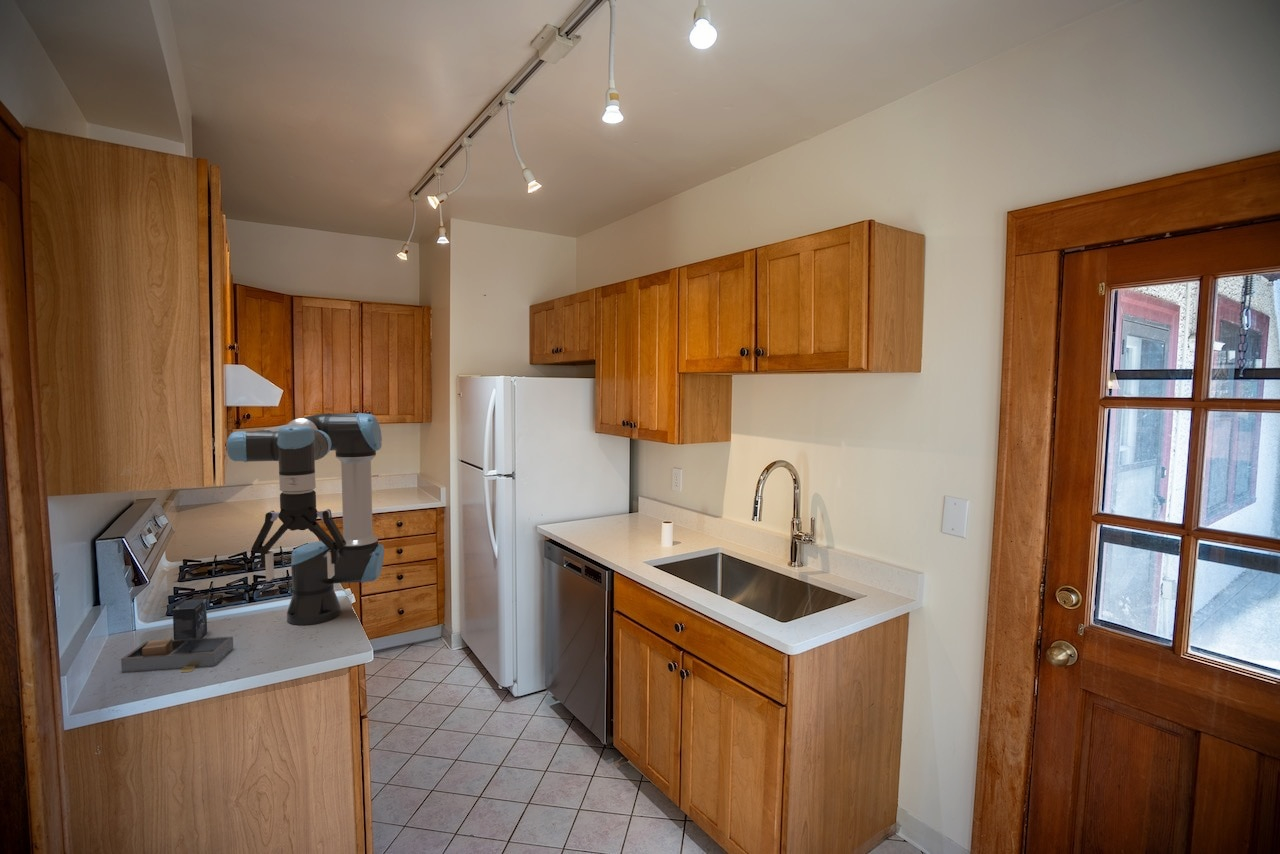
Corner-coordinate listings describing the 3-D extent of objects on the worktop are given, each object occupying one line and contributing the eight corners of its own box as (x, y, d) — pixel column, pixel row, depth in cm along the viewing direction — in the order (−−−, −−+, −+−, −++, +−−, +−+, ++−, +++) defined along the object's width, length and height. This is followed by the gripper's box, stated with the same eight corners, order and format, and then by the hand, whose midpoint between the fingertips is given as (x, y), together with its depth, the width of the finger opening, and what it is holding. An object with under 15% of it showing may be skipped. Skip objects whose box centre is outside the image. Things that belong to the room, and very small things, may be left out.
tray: (146, 653, 169) (146, 641, 169) (233, 648, 173) (232, 636, 173) (115, 676, 157) (114, 663, 156) (209, 670, 160) (209, 657, 160)
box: (196, 643, 176) (194, 607, 175) (173, 645, 175) (171, 609, 174) (208, 632, 184) (206, 598, 183) (186, 634, 182) (184, 599, 181)
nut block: (150, 659, 167) (149, 641, 166) (172, 656, 168) (171, 638, 168) (143, 667, 162) (142, 648, 162) (166, 664, 164) (165, 646, 163)
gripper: (232, 495, 141) (236, 585, 143) (349, 492, 146) (351, 580, 147) (247, 489, 149) (251, 575, 150) (357, 487, 153) (360, 570, 155)
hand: (300, 578), depth 149 cm, fingers open, 13 cm apart
